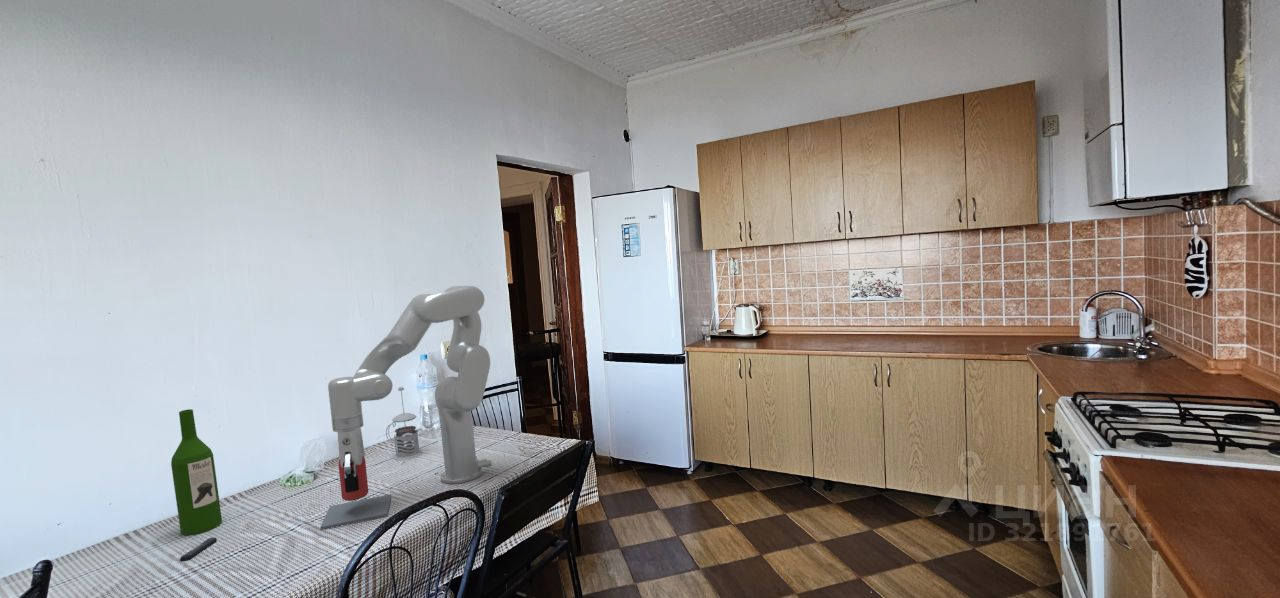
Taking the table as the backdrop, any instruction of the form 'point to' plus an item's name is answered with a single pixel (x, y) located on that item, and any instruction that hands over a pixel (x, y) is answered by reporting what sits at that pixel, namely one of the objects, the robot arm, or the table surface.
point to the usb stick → (198, 549)
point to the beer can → (361, 479)
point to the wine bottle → (195, 481)
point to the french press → (405, 437)
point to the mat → (357, 511)
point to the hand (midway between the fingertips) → (354, 485)
